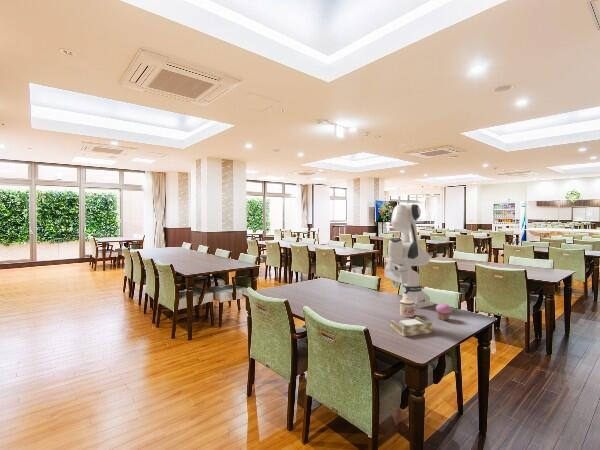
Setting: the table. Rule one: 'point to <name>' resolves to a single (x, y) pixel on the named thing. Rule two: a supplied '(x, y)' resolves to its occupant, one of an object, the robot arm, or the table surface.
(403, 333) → the bay
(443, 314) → the cupcake
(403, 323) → the trolley
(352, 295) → the table surface
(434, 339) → the table surface
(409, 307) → the teacup with lid
